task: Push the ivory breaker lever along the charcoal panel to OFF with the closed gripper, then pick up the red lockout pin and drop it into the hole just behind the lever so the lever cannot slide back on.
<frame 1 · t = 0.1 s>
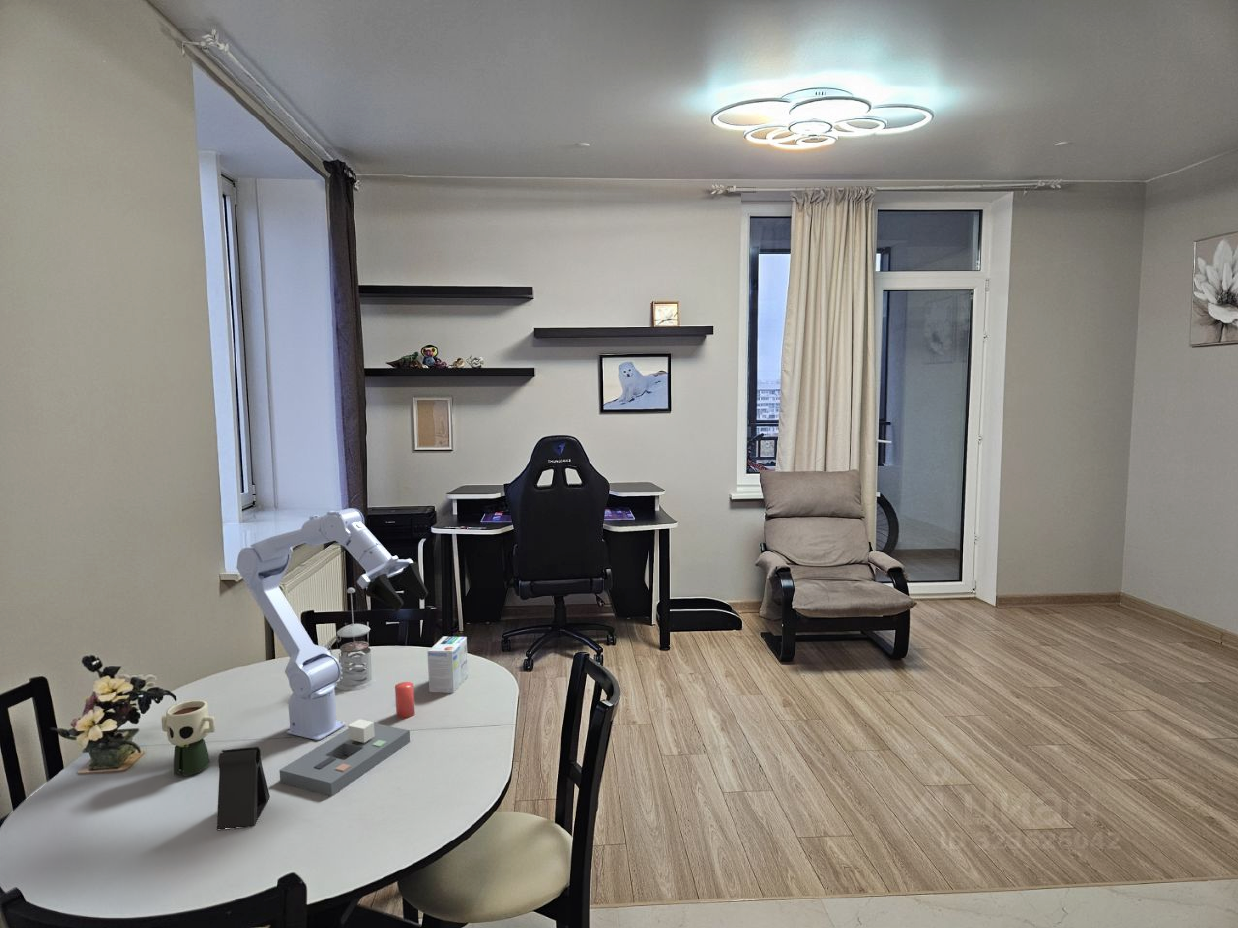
hand: (413, 601, 145), 32 cm above the table, tool tilted 50°, fingers open, 7 cm apart
breaker lever: (361, 730, 148), point 4 cm above the table, slide at 10.0 cm
french press: (353, 683, 184), on the table
phone stand: (244, 815, 128), on the table
breaker panel: (348, 760, 145), on the table
character mug: (192, 770, 143), on the table
lockout pin: (405, 714, 165), on the table
light bulb box: (449, 684, 182), on the table
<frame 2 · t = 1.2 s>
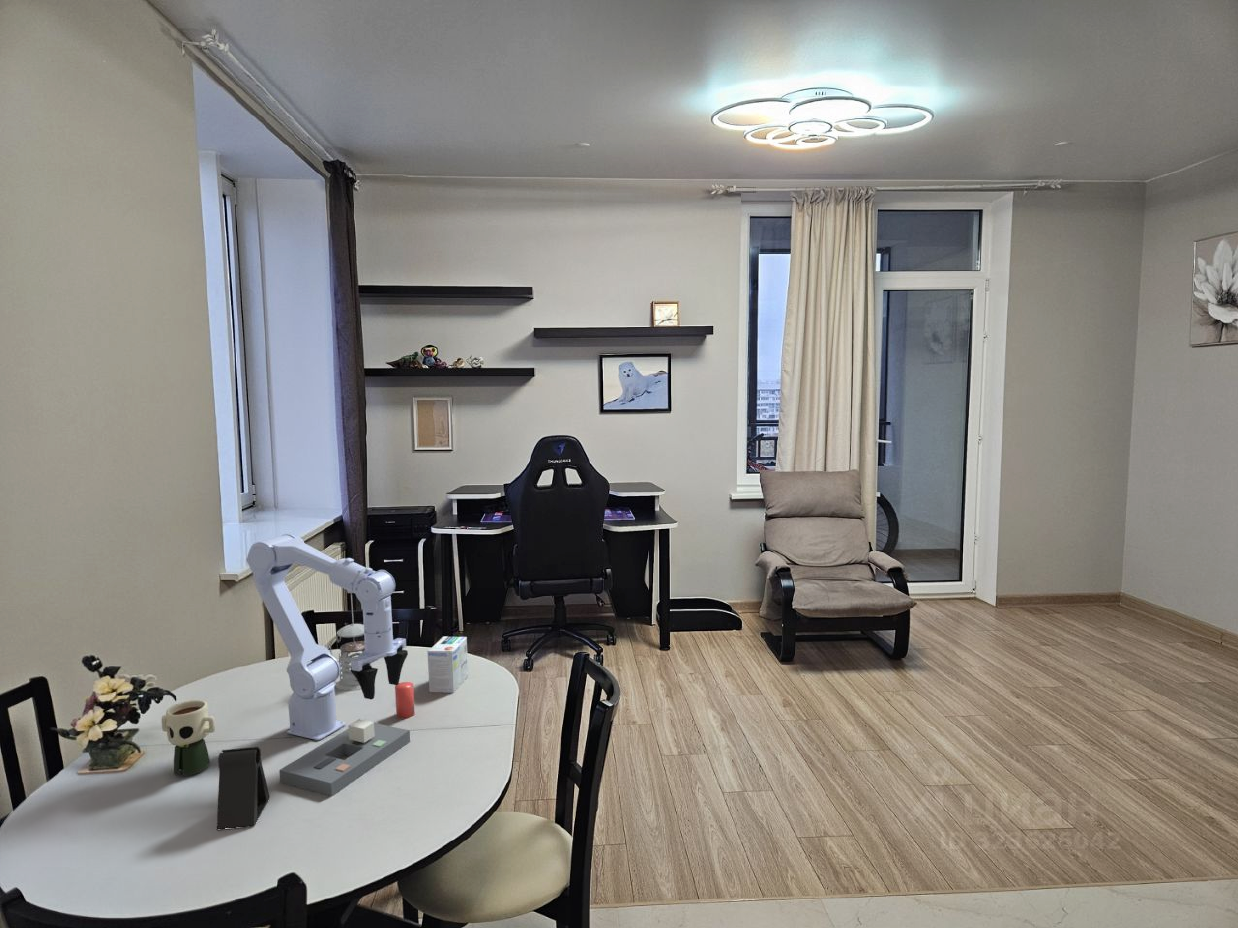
hand: (381, 690, 154), 10 cm above the table, tool pointing down, fingers open, 7 cm apart
nothing on the table moved.
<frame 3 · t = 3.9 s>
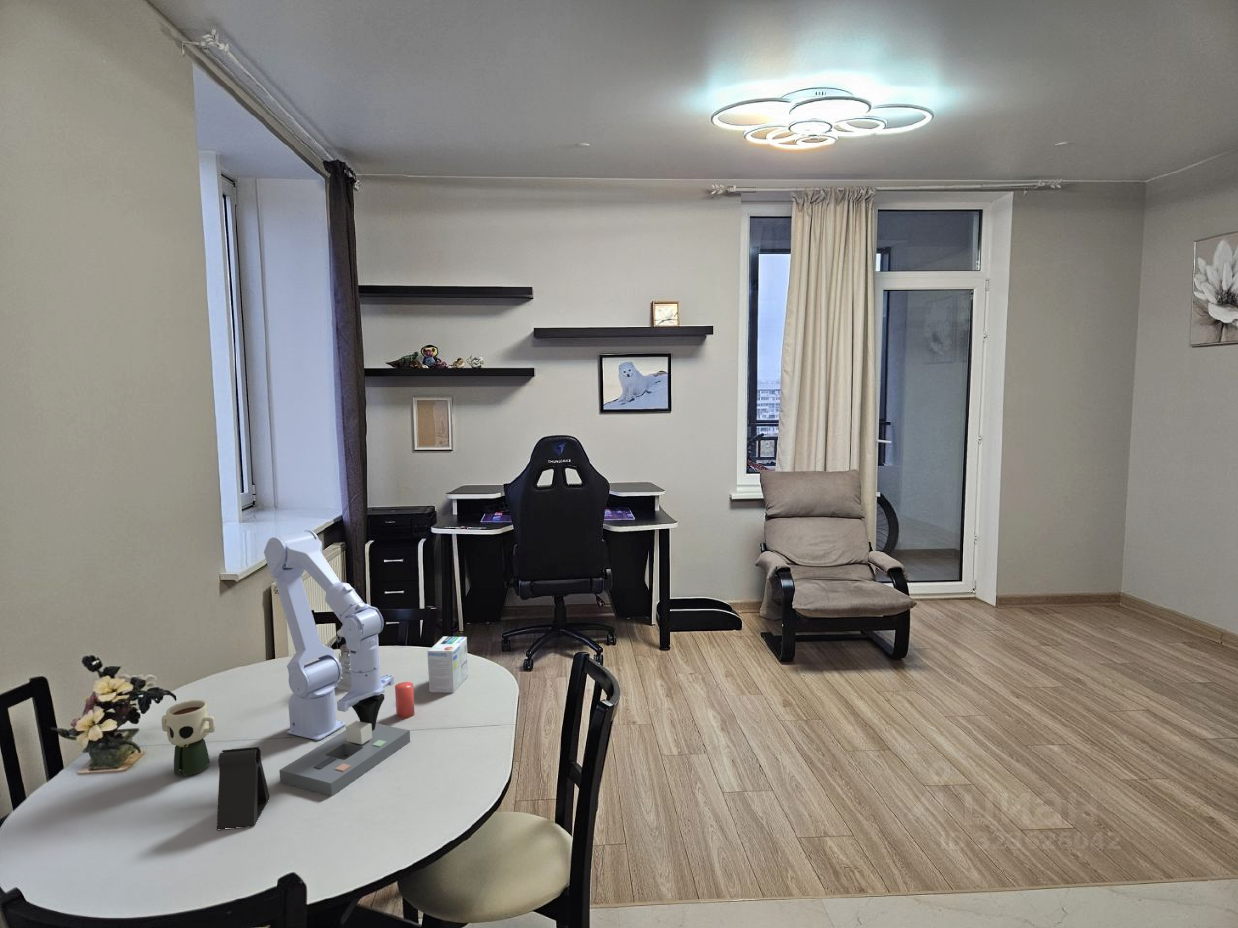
hand: (368, 729, 150), 4 cm above the table, tool pointing down, fingers closed
breaker lever: (359, 732, 148), point 4 cm above the table, slide at 9.3 cm, touching gripper
everything else where it was.
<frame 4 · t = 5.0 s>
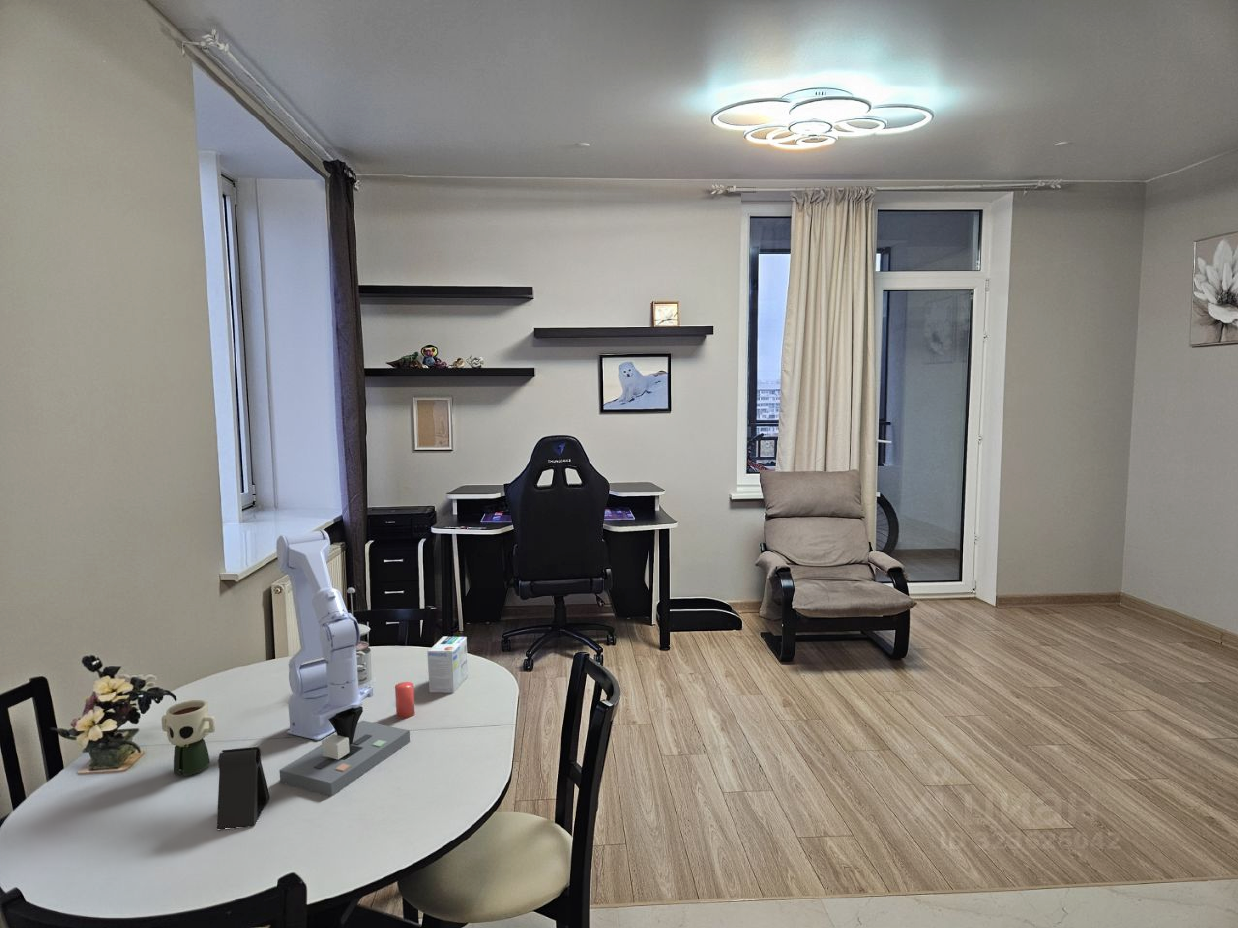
hand: (346, 743, 144), 4 cm above the table, tool pointing down, fingers closed
breaker lever: (335, 746, 142), point 4 cm above the table, slide at 2.9 cm, touching gripper
everything else where it was.
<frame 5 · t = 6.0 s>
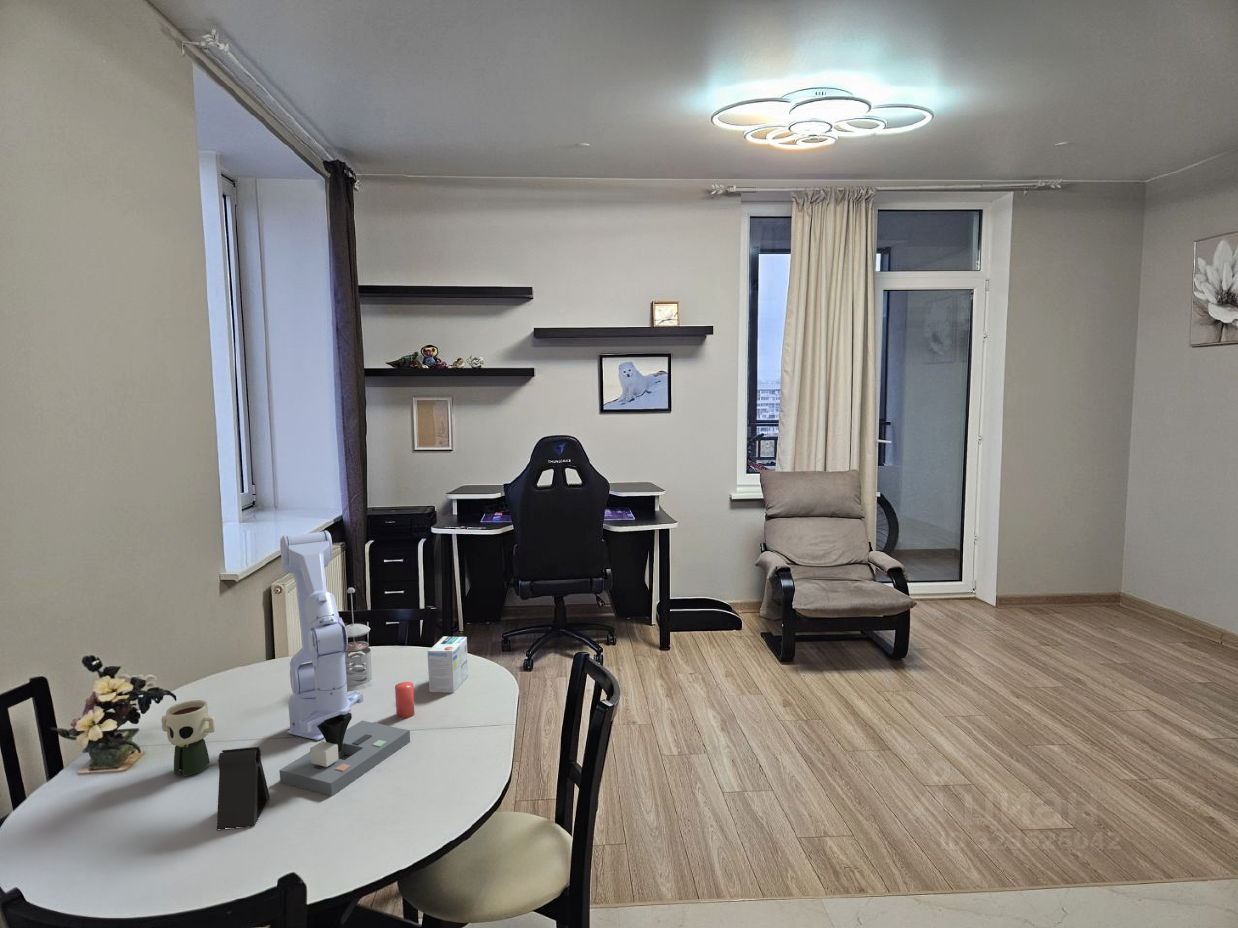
hand: (335, 750, 142), 4 cm above the table, tool pointing down, fingers closed
breaker lever: (324, 753, 139), point 5 cm above the table, slide at 0.0 cm, touching gripper
everything else where it was.
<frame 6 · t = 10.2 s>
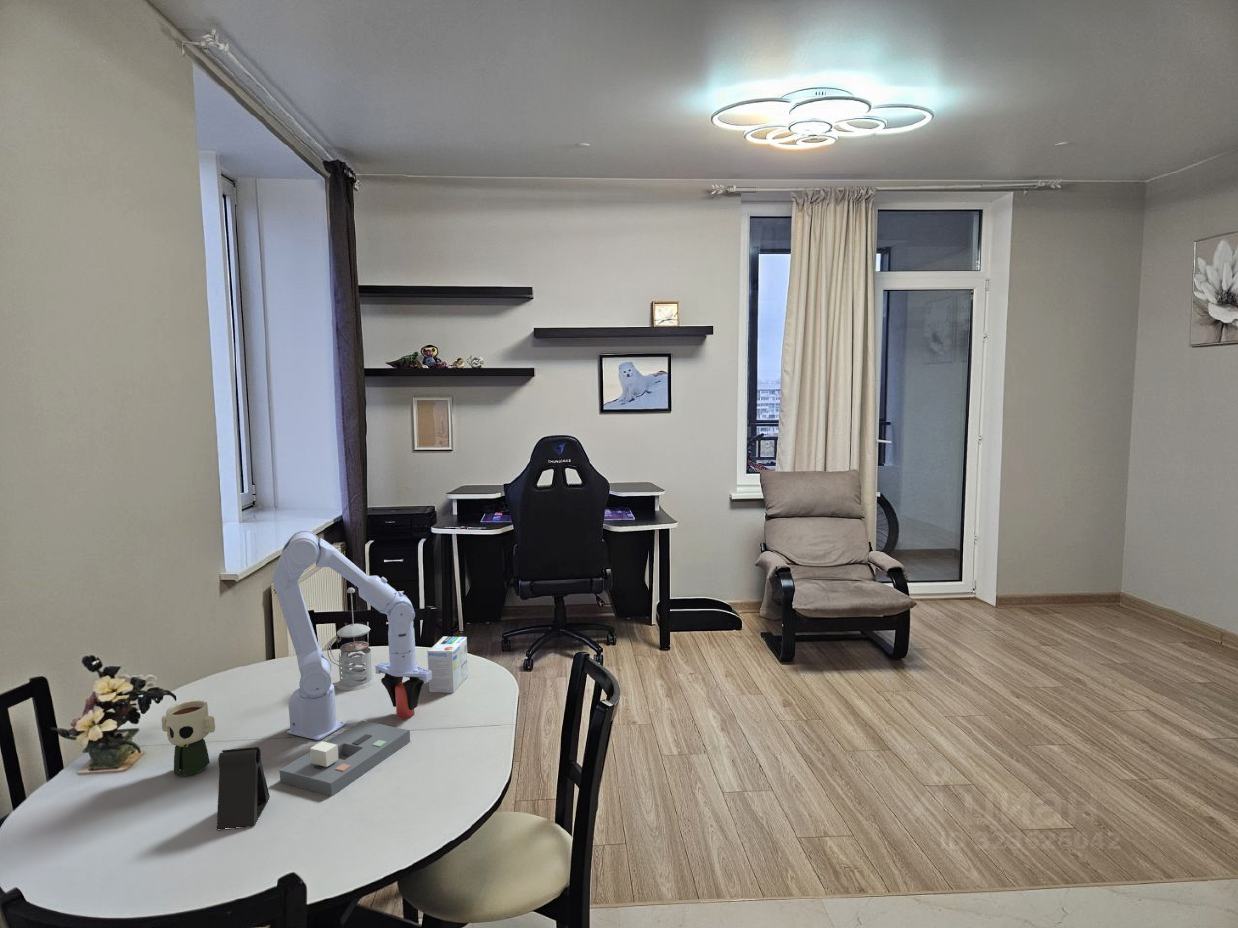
hand: (405, 706, 165), 2 cm above the table, tool pointing down, fingers closed on lockout pin, 4 cm apart
breaker lever: (324, 753, 139), point 4 cm above the table, slide at 0.0 cm
lockout pin: (405, 714, 165), on the table, touching gripper
everything else where it was.
when the fingers open (3 cm above the table, at t = 14.3 s): lockout pin drops 1 cm, resting in breaker panel.
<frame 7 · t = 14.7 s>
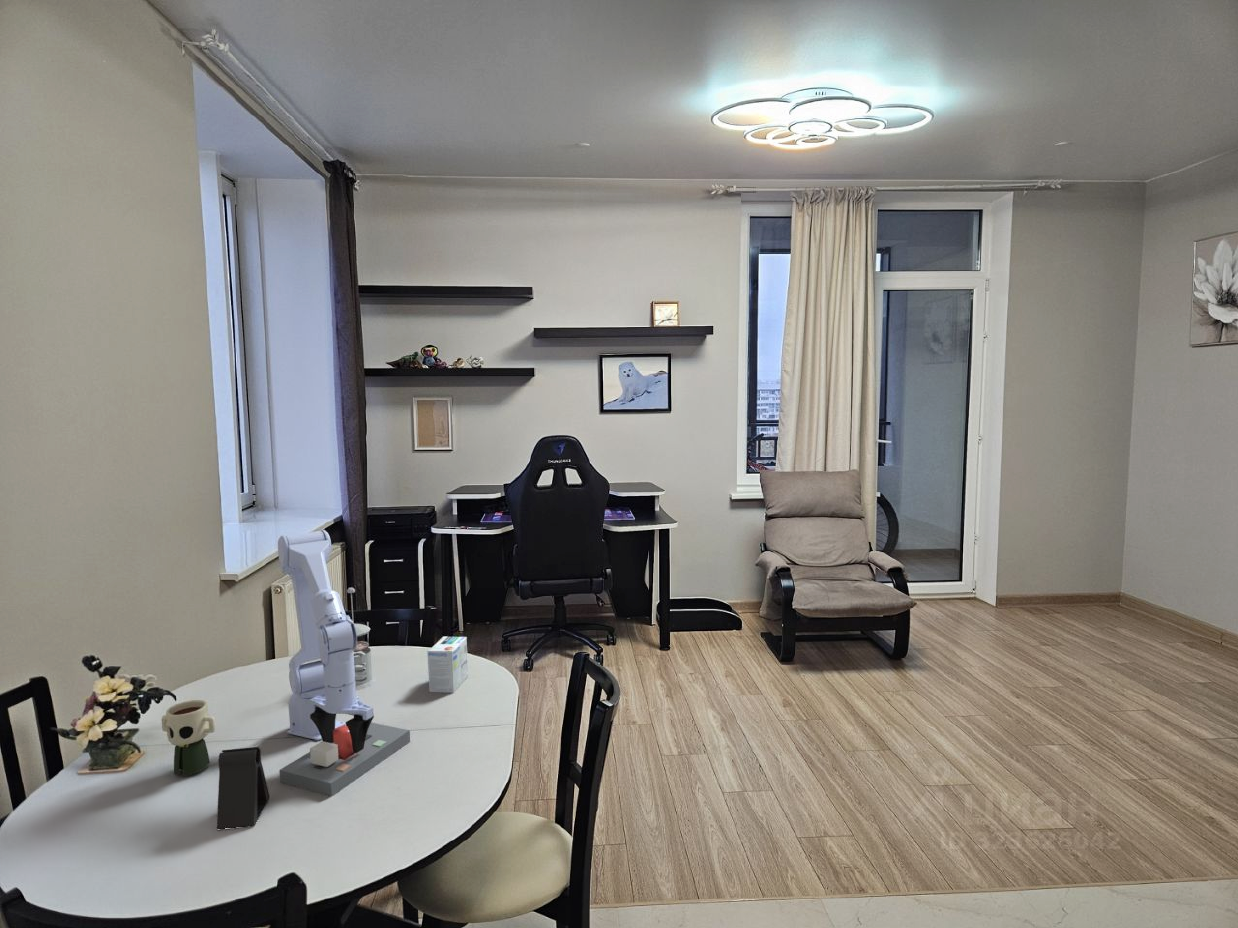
hand: (343, 747, 144), 3 cm above the table, tool pointing down, fingers open, 7 cm apart
lockout pin: (345, 762, 144), resting in breaker panel
everything else where it was.
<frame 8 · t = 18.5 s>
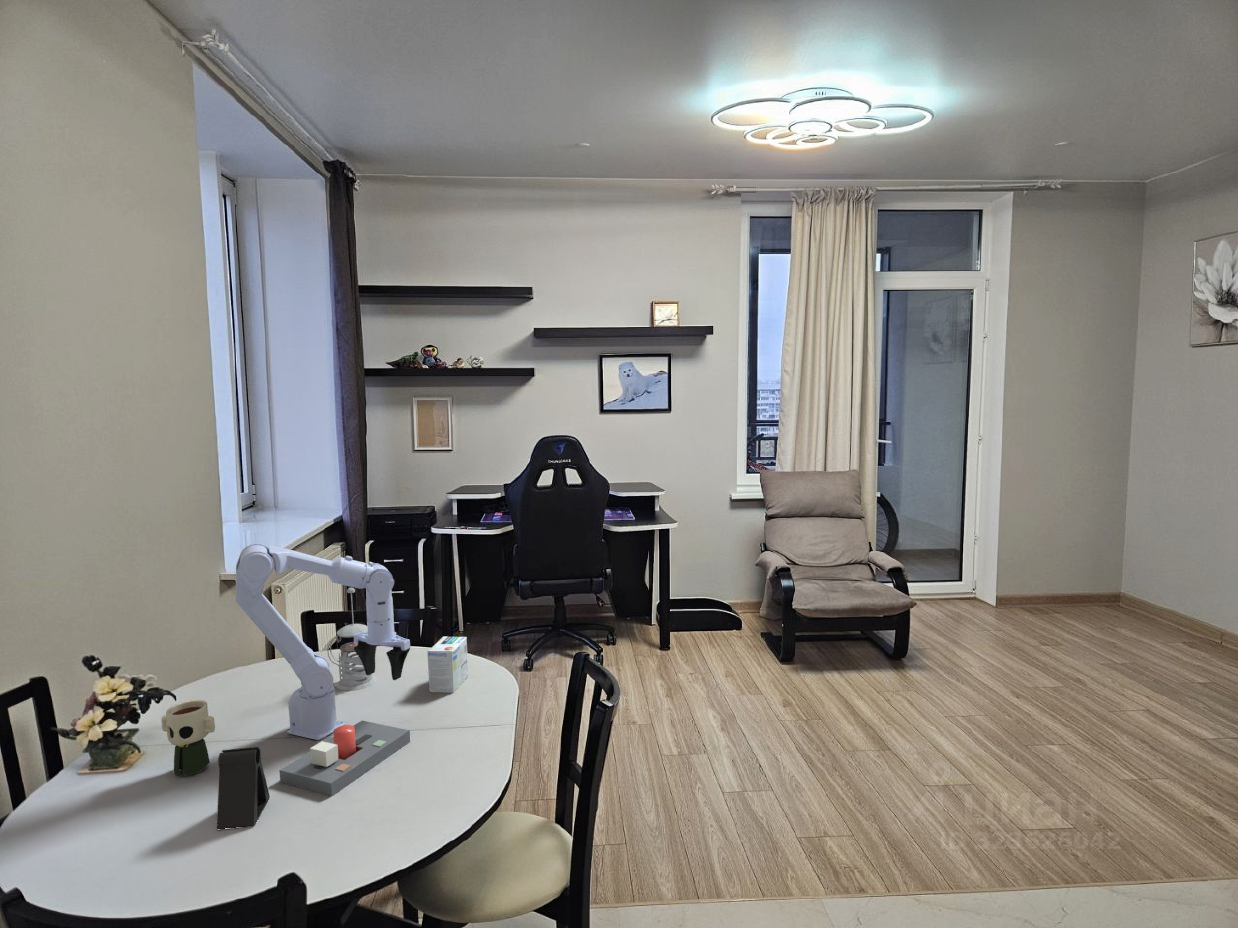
hand: (383, 676, 164), 9 cm above the table, tool pointing down, fingers open, 7 cm apart
nothing on the table moved.
at the end: breaker lever slide at 0.0 cm; lockout pin 0.2 cm from the target spot on the breaker panel, point 0.0 cm above the breaker panel's base; lockout pin tilted 0° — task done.
